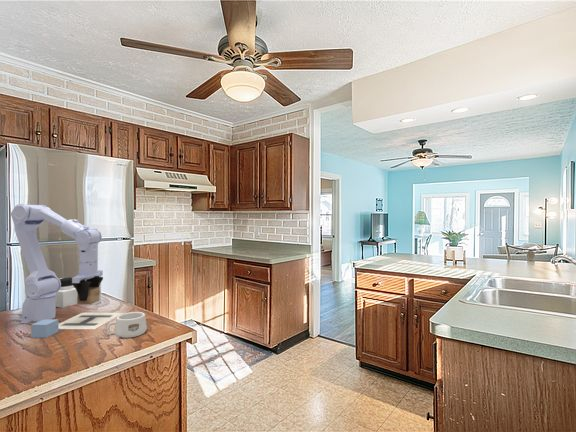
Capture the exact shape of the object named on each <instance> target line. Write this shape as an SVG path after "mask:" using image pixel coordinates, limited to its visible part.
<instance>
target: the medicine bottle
mask: <svg viewBox="0 0 576 432" xmlns="http://www.w3.org/2000/svg"><path fill="white" fill-rule="evenodd" d="M72 278H73V277H70V276H69V277H67V276H66V277H61V278H58V279H59V280H60V282H61V288H60V290H59V291H58V292H57V294H56V308H61V309H65V308H67V307H69V306H75V305H78V304H77V291H76V289H75V287H74V286H73V283H72Z"/></svg>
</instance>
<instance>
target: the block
mask: <svg viewBox="0 0 576 432" xmlns="http://www.w3.org/2000/svg"><path fill="white" fill-rule="evenodd" d="M99 297H100V287H89V290H88V297H87V301H80V299H79V296H78V293H77V304H76V305H81V304H92V303H95V302H97V301H99Z"/></svg>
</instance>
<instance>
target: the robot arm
mask: <svg viewBox="0 0 576 432" xmlns="http://www.w3.org/2000/svg"><path fill="white" fill-rule="evenodd" d="M10 216H11V219H12V222H13V225H14V232H15V235H16V238H17V242H18V244H19V247H20V249H21V253H22V256H23V259H24V261H25V264H26V267H27V269H28V273H29V275H27V277H26V278H25V280H24V281H23V282H24V285H25V294H26V296H27V297H26V299H24V300H23V303H22V305H21V306H22V311H21V318H22V319H21V320H22V321H20V324H28V323H30V322H33V323H36V322H39V321H41V320H43V319H55V318H56V312H57V311H56V309H57V307H56V294H57V292H58V291H59V290H60V288H61V282H60V280H59V279H60V278H58V277H57V274H56V273H55V272H54V271H53V270H50V269H49V268H48V265H47V263H46V260H45V257H44V254H43V252H42V248H41V246H40V245H41V244H40V242H39V240H38V237H37V234H36V229H37V228H39V227H40V226H42V224H43V223H44V222H45V221H46V222H48V223H50V224H52V225H53V226H57V227H58V228H60V230H61V232H62V233H63V234H65V236H66V235H67V236H68V237H70V238H72V239H74V240H75V243H76V244H77V246H78V250H79V252H78V254H79V255H78V256H79V257H78V259H79V261H78V264H79V265H78V266H79V267H78V273H79V274H77V275H75V276H74V277H71V278H72V283H73V286H74V287H73V288H75V289H76V291H77V293H78V296H79V299H80V301H87V297H88V290H89V287H99V285H100V283H101V284H102V282H103V280H104V277H103V273H104V271H103V269H102V270H98V260H99V257H98V256H99V253H98V251H99V249H98V248H99V243H100V242H101V241H102V233H101V231H99V230H98V229H97V228H90V227H89V226H88V225H84V224H82V223H80V222H79V220H78V219H77V218H76V219H75V218H74V219H72V218H71V219H67V218H65V217H63V216H61V215H60V214H58V213H56V212H55V211H53V210H52V208H51V207H48V206H46V205H45V204H24V203H18V204H16V205H15V206H14V207H13V209H12V211H11V212H10ZM99 276H101V277H99Z"/></svg>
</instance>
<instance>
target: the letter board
mask: <svg viewBox="0 0 576 432" xmlns="http://www.w3.org/2000/svg"><path fill="white" fill-rule="evenodd" d="M121 314H123V312H80V313H79V314H77V315H74V316H72V317H70V318H67V319H66V320H64V321H62V322H59V327H58V330H96V329H98V328H99V327H101V326H103V325H104V324H106V323H108V322H111V321H112V320H113V319H116V318H117V316H119V315H121Z"/></svg>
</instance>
